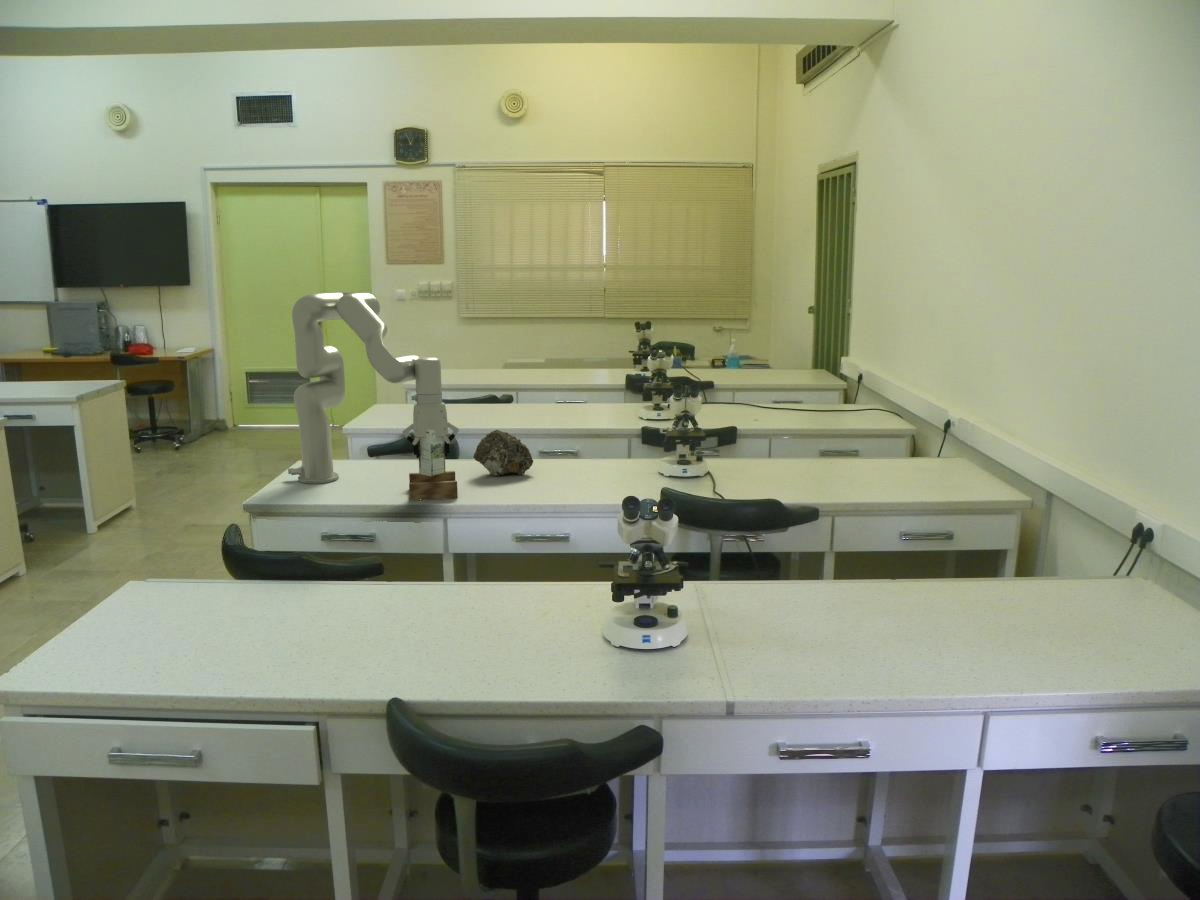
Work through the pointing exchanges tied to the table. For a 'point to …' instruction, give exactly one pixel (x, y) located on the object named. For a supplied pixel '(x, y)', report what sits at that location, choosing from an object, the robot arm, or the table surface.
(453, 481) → the walnut rack
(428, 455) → the syrup box
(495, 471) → the rock
